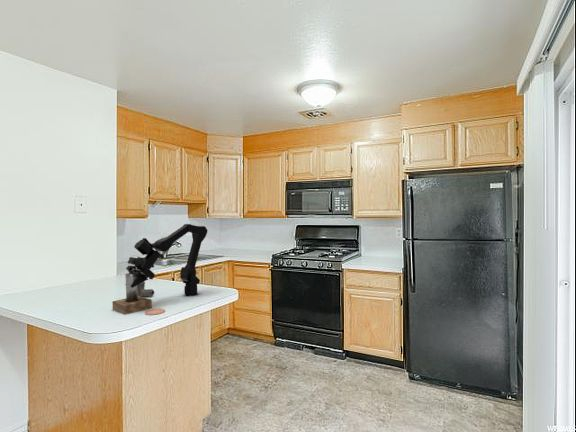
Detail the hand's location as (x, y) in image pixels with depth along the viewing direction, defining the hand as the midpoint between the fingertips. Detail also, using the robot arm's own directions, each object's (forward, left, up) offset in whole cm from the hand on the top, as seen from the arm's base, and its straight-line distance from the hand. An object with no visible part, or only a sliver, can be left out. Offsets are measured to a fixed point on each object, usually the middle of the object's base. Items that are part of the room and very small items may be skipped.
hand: (128, 286), depth 166 cm
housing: (-1, -1, -11) cm, 11 cm away
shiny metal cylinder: (-1, -1, -7) cm, 7 cm away
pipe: (-4, -25, -11) cm, 28 cm away
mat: (-12, +10, -11) cm, 19 cm away
